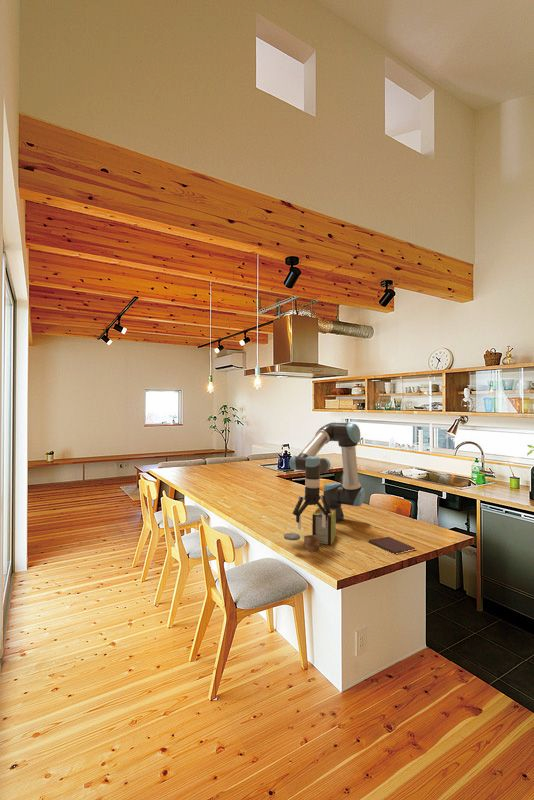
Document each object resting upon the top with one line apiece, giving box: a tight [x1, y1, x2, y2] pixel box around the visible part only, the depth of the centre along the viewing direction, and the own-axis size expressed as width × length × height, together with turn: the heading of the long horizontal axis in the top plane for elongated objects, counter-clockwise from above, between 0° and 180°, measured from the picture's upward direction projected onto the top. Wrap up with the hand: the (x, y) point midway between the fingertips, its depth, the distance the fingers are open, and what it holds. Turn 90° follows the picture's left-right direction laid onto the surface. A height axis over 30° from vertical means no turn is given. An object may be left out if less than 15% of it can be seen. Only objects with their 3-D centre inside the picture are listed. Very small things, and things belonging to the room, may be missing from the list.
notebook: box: [368, 536, 416, 555], centre depth 209 cm, size 15×20×2 cm
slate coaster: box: [283, 532, 301, 541], centre depth 221 cm, size 9×9×1 cm
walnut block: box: [303, 534, 320, 552], centre depth 204 cm, size 6×6×6 cm
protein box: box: [311, 507, 337, 546], centre depth 218 cm, size 10×15×16 cm
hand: (311, 527), depth 204 cm, fingers open, 13 cm apart
